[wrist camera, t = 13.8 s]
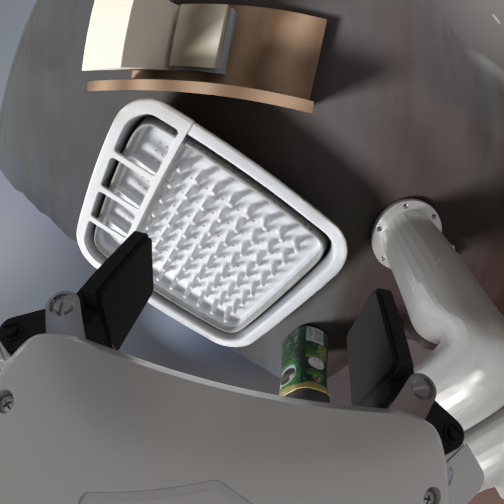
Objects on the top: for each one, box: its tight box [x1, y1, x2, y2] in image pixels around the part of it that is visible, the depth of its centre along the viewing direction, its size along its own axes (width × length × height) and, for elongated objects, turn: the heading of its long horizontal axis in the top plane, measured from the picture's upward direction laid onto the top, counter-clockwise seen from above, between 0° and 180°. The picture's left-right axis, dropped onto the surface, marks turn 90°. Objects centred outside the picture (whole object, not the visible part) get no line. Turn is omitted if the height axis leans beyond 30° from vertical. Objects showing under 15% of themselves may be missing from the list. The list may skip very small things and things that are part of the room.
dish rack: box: [77, 98, 347, 347], centre depth 42 cm, size 32×37×8 cm
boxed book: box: [82, 0, 180, 71], centre depth 23 cm, size 5×9×14 cm, turn 170°
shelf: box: [87, 4, 327, 114], centre depth 25 cm, size 25×13×12 cm, turn 81°
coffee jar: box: [279, 326, 330, 403], centre depth 48 cm, size 10×8×19 cm
